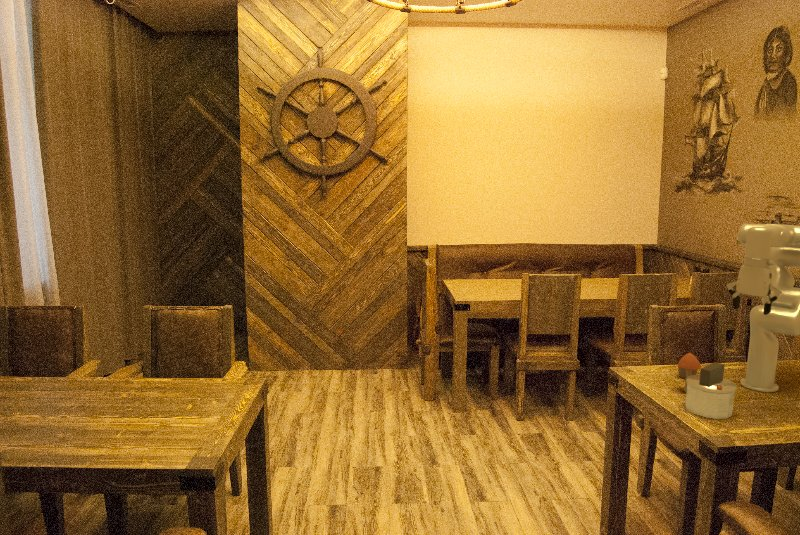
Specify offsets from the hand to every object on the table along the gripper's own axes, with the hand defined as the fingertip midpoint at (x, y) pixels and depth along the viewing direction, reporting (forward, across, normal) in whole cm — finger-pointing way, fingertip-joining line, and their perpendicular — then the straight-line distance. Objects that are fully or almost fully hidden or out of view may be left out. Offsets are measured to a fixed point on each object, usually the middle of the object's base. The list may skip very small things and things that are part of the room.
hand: (751, 311), depth 210 cm
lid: (+26, +4, +17) cm, 31 cm away
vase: (+34, +24, -10) cm, 42 cm away
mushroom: (+34, +17, +5) cm, 38 cm away
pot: (+33, +4, +17) cm, 38 cm away
